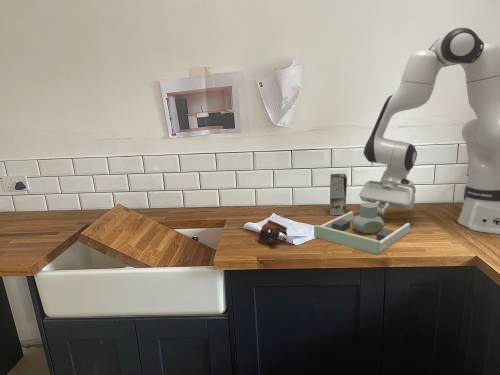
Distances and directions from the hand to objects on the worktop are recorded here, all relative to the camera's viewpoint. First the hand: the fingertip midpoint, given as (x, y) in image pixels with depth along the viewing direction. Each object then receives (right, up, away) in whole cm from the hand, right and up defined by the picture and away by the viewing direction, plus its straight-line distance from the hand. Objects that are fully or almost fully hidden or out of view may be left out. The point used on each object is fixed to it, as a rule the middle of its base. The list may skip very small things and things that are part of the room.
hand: (379, 213), depth 130 cm
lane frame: (-9, -7, -8) cm, 14 cm away
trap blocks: (-9, -7, -8) cm, 14 cm away
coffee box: (-11, -1, +17) cm, 21 cm away
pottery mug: (-41, -9, -13) cm, 44 cm away
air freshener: (-6, -6, -5) cm, 10 cm away
